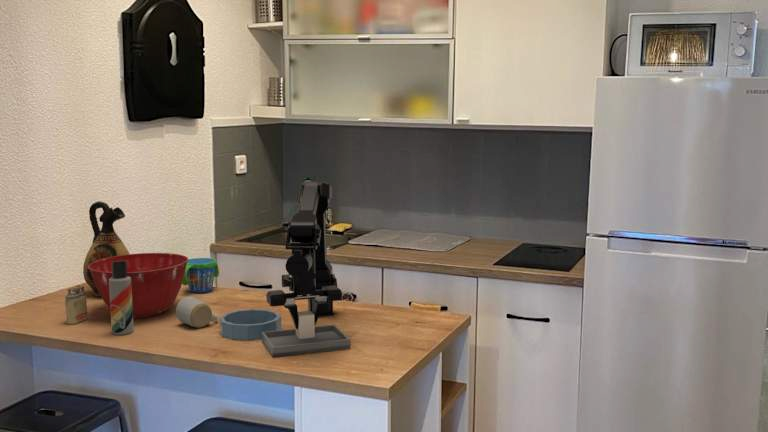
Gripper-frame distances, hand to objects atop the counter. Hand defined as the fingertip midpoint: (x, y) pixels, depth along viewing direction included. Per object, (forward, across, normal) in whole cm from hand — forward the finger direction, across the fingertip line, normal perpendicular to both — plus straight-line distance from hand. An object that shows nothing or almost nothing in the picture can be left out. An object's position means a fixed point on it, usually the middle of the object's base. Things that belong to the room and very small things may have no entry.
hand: (305, 328), depth 208 cm
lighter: (+5, +56, -44) cm, 71 cm away
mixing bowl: (+5, +38, -48) cm, 61 cm away
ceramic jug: (+5, +47, -75) cm, 89 cm away
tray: (+4, 0, 0) cm, 4 cm away
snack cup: (+5, +18, -68) cm, 70 cm away
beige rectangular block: (+2, 0, 0) cm, 2 cm away
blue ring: (+4, +11, -17) cm, 21 cm away
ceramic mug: (+5, +24, -29) cm, 38 cm away
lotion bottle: (+5, +44, -28) cm, 52 cm away
